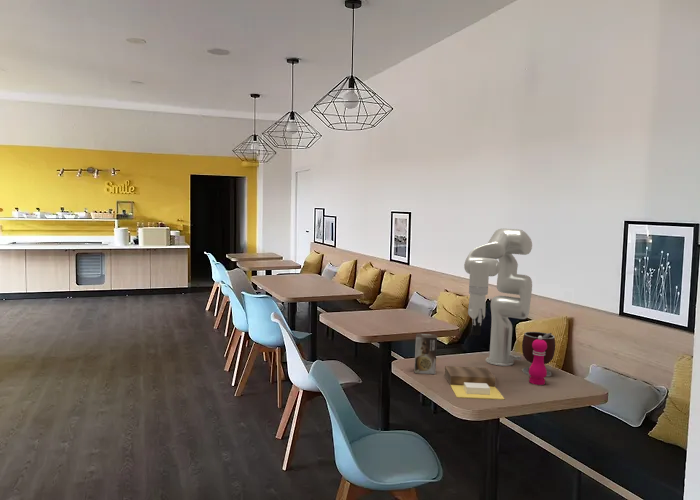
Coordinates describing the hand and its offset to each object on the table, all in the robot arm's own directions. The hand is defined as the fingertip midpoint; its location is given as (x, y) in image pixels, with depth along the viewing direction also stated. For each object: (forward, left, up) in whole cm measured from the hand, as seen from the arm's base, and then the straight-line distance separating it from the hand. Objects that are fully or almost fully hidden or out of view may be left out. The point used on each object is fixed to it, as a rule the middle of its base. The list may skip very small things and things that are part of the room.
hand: (476, 334), depth 225 cm
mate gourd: (-33, -19, -21) cm, 43 cm away
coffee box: (+18, -14, -21) cm, 31 cm away
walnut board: (+1, -3, -21) cm, 21 cm away
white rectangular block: (+1, +11, -19) cm, 22 cm away
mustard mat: (+1, +11, -21) cm, 23 cm away
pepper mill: (-28, -5, -21) cm, 35 cm away
